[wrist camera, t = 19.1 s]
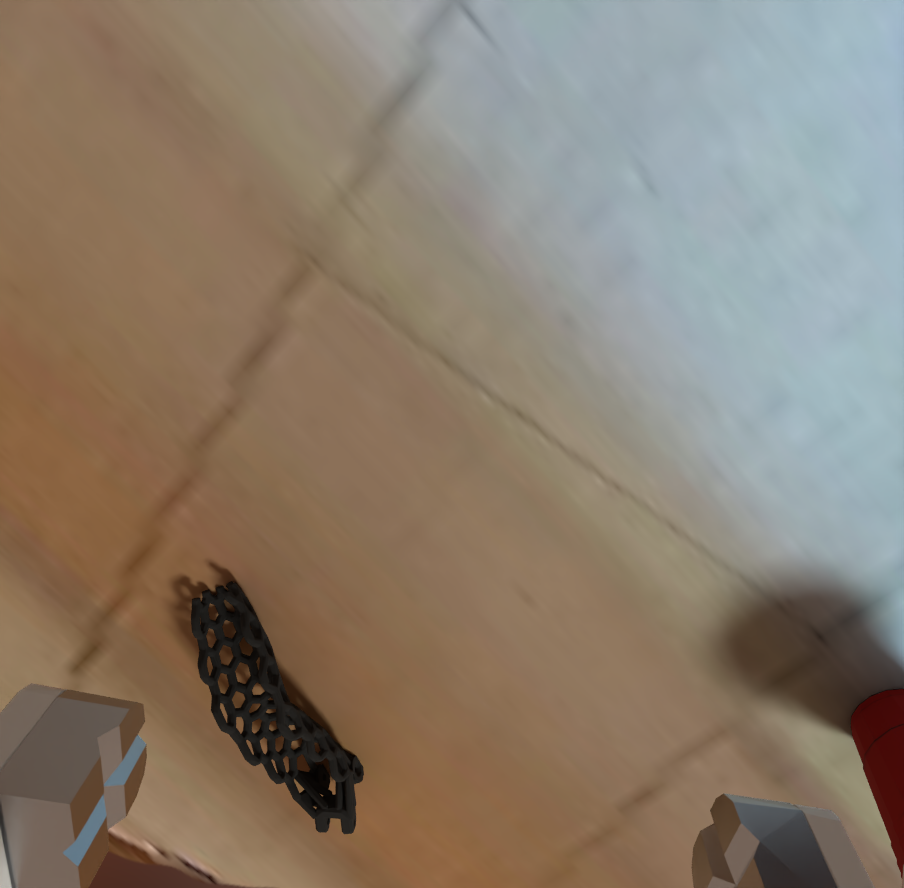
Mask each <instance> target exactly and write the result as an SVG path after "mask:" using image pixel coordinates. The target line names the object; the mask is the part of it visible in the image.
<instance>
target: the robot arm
mask: <svg viewBox="0 0 904 888" xmlns="http://www.w3.org/2000/svg"><path fill="white" fill-rule="evenodd" d="M144 722H145V716H144V706H143V704H141V703H138V702H132V701H127V700H122V699H116V698H111V697H106V696H100V695H95V694H89V693H84V692H79V691H73V690H67V689H61V688H55V687H49V686H44V685H38V684H32V683H31V684H30V685H28V686H27V687H25V688H23V689H22V690H20V691H19V692H18V693H17V694H16V695H15V696H14V697H13V699H12V700H11V701H10V702H9V703H8V704H7V706H6V707H5V708H4V709H3V710H2V712H1V713H0V888H88V887H89V885H90V883H91V882H92V880H93V878H94V876H95V874H96V872H97V870H98V868H99V867H100V865H101V863H102V861H103V859H104V857H105V855H106V854H107V852H108V850H109V841H108V829H109V828H111V827H112V826H114V825H115V824H116V823H118V822H119V821H121V820H122V819H124V818H125V817H126V816H127V814H128V812H129V810H130V808H131V806H132V804H133V802H134V800H135V798H136V796H137V793H138V790H139V787H140V784H141V781H142V778H143V776H144V771H145V765H146V758H147V753H146V744H145V742H144V741H143V740H142V739H141V738H140V737H139V736H138V733H139V731H140V729H141V728H142V726H143V724H144ZM710 811H711V815H712V818H713V821H714V824H712V825H710V826H708V827H707V828H705V829H703V830H701V831H700V833H699V835H698V837H697V840H696V842H695V844H694V847H693V857H692V876H693V885H694V888H874V886H873V884H872V882H871V880H870V878H869V876H868V874H867V872H866V870H865V868H864V866H863V864H862V862H861V860H860V858H859V856H858V854H857V852H856V850H855V848H854V846H853V844H852V842H851V840H850V839H849V837H848V835H847V833H846V831H845V829H844V827H843V825H842V823H841V821H840V819H839V818H838V817H837V816H836V815H835V814H834V813H833V812H832V811H831V810H827V809H820V808H814V807H808V806H801V805H792V804H790V803H786V802H779V801H772V800H765V799H758V798H751V797H744V796H737V795H730V794H722V795H721V796H719V797H717V798H716V800H715V802H714V804H713V806H712V808H711V810H710Z"/></svg>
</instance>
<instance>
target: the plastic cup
mask: <svg viewBox="0 0 904 888" xmlns="http://www.w3.org/2000/svg"><path fill="white" fill-rule="evenodd" d="M851 730H852V737H853V739H854V742H855V744H856V747H857V750H858V752H859V755H860V757H861V760H862V763H863V770H864V772H865V775H866V777H867V780H868V783H869V785H870V788H871V791H872V793H873V796H874V798H875V801H876V804H877V806H878V809H879V811H880V814H881V817H882V819H883V822H884V824H885V827H886V830H887V832H888V835H889V838H890V840H891V847H892V849H893V851H894V854H895V856H896V859H897V865H898V867H899V869H900V872H901V877H902V888H904V689H898V690H887V691H884V692H881V693H879V694H876V695H873V696H871V697H869V698H868V699H867V700H865V701H864V702H863V703H861V704H860V705H859V706H858V707H857V709H856V710H855V712H854V713H853V715H852V717H851Z"/></svg>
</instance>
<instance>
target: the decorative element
mask: <svg viewBox="0 0 904 888" xmlns="http://www.w3.org/2000/svg"><path fill="white" fill-rule="evenodd" d="M226 587H227V588H228V591H227V590H225V588H224V587H223V586H219V587H216V590H217V595H216V596H214V595H212V594H211V593H210V591H209V590H205V591H203V592H202V596H203V598H202V601H200V598H194V599H192V613H191V625H192V633H193V635H194V637H195V638H196V639H197V640H198V645H199V650H200V651H199V658H198V669H199V674H200V678H201V679H202V681H203V682H204V683H205V684H207V685H209V689H210V692H211V695H212V704H211V711H212V713H213V716H214V718H215V720H216V722H217V724H218V726H219V728H220V729H221V731H223V732H225V733H228V734H229V735H230V736H231V737H232V739H233V740H234V741H235V742H236V744H237V745H238V747H239V749H240V751H241V753H242V755H243V756H244V758H245V760H246V761H247V762H249V763H250V764H251V765H253V766H256V765H258V764H260V763H262V764H263V765H264V767H265V769H266V771H267V773H268V775H269V777H270V779H271V780H273V781H274V782H275V783H276V784H281V783H284V782H285V783H286V785H287V787H288V789H289V791H290V793H291V795H292V797H293V799H294V800H295V801H296V802H297V803H298V804H299V805H300V806H301V807H302V808H303V809H304V810H305V811H306V812H307V813H308V814H309V815H310V816H311V817H312V818H313V819H314V818H315V824H316V830H317V831H318V832H327V831H328V829H329V824H330V818H338V819H341V827H342V832H343V833H344V834H351V833H353V832H354V829H355V826H356V810H355V806H356V799H355V791H354V784H356V783H360V782H361V781H362V780H363V775H364V772H363V766H362V765H361V763H360V761H359V760H358V758H357V756H353V757H352V756H351V755H350V754H349V753H347V752H346V751H344V750H343V749H342V748H341V746H340V745H339V744H338V743H337V742H336V741H335V740H334V739H333V738H332V737H331V736H330V735H329V734H328V732H327V731H326V730H325V729H324V728H323V727H322V726H321V725H319V724H318V723H317V722H315V721H314V720H313V719H311V718H310V717H309V716H308V715H306V713H305V712H304V711H302V710H301V709H300V708H298V707H297V706H295V705H294V704H293V703H291V702H290V700H289V698H288V695H287V693H286V690H285V687H284V684H283V681H282V679H281V676H280V673H279V669H278V666H277V663H276V659H275V656H274V652H273V649H272V646H271V644H270V641H269V639H268V637H267V635H266V633H265V631H264V629H263V627H262V626H261V624H260V622H259V620H258V618H257V616H256V613H255V611H254V609H253V607H252V606H251V604H250V602H249V600H248V599H247V597H246V596H245V594H244V593H243V592H242V590H241V589H240V588H239V587H238V585H237V584H236V583H233V582H232V581H231V582H229V583H228V584H227V585H226ZM224 599H225V600H227V601H228V602H229V603H230V604H232V605H233V607H234V608H235V612H234V613H231V612H229V611H227V609H226V607H225V605H224ZM210 603H211V604H214V605H215V607H216V609H217V611H218V614H219V615H218V617H217V619H216V621H213V620H211V619H210V618H209V613H208V608H209V604H210ZM200 619H201V625H200ZM225 620H228V621H230V622H233V625H234V627H235V629H236V633H235V635H234V637H233V638H232V639H231V638H228V637H225V635H224V632H223V628H222V625H223V623H224V621H225ZM250 626H251V628H252V629H250ZM209 628H210V629H213V630H214V633H215V636H216V639H217V640H216V642H215V644H214V645H213V647H212V648H210V647H208V643H207V638H206V635H207V632H208V629H209ZM243 637H244V638H245V640H246V642H247V643H249V644H250V645H251V646H252V648H253V652H252V653H251V655H250V656H248V655H245V654H243V653H242V652H241V649H240V646H239V643H240V641H241V639H242V638H243ZM223 645H225V646H228V647H231V650H232V653H233V656H234V657H233V659H232V660H231V662H230V664H229V665H228V666H227V665H224V664H221V660H220V656H219V652H220V650H221V648H222V646H223ZM208 656H210V658H211V662H212V665H213V669H212V672H211V675H210V676H209V673H208V669H207V658H208ZM258 657H260V666H259V670H258V667H257V663H256V661H257V659H258ZM240 662H242V663H245V664H248V667H249V671H250V675H251V676H250V678H249V679H248V681H247V683H246V684H243V683H240V682H238V681H237V677H236V673H235V670H236V668H237V667H238V665H239V663H240ZM220 673H223V674H227V678H228V682H229V687H228V689H227V691H226V693H225V694H223V693H221V692H220V689H219V686H218V679H219V676H220ZM256 682H258V683H259V684H261V686H262V687H263V689H264V690H265V692H263V693H262V694H261V695H253V693H252V689H253V687H254V685H255V684H256ZM236 691H238V692H241V693H243V694H244V696H245V701H244V703H243V705H242V706H241V708H235V707H234V704H233V702H232V698H233V696H234V694H235V692H236ZM270 697H271V698H273V700H268V699H269V698H270ZM220 703H222V704H223V705H224V707H225V710H226V713H227V715H228V717H227V723H226V720H225V718H224V716H223V714H222V712H221V709H220ZM258 703H260V704H261V705H260V707H259V708H258V709H257V710H256V711H254V712H252V713H249V709H250V707H251V706H252V704H258ZM267 709H276V712H274V713H266V711H267ZM288 715H289V716H288ZM236 717H242V719H243V721H244V727H243V732H242V734H240V732H239V731H238V730H237V728H236ZM259 718H260V719H261V720H262V722H261V727H260V729H259V731H258V732H256V733H255V734H254V733H253V732H252V722H253V721H255V720H257V719H259ZM275 720H276V724H277V727H278V729H276V730H274V731H271V730H269V725H270V722H271V721H275ZM289 725H295V728H296V730H292V731H291V730H290V728H289ZM281 735H282V736H283V737H284V743H283V748H282V749H281V750H280V751H279V752H277V751H276V749H275V739H276V738H278V737H280V736H281ZM263 737H265V738H266V739H267V753H266V755H265V754H264V753H263V751H262V749H261V745H260V740H261V739H262V738H263ZM299 738H302V739H303V741H302V743H301V745H300V747H298V748H297V749H295V750H292V749H291V742H292V741H295V740H297V739H299ZM246 740H249V741H250V742H251V744H252V748H253V752H254V755H253V754H252V753H251V751H250V749H249V747H248V745H247V743H246ZM314 742H315V743H318V744H319V747H320V750H321V751H320V752H319V753H317V752H316V751H315V745H314ZM302 754H303V755H304V757H305V759H306V761H307V763H308V765H309V767H310V770H309V772H304V771H300V770H298V769H297V757H299V756H300V755H302ZM285 756H288V757H289V772H288V773H287V772H286V770H285V766H284V762H283V758H284V757H285ZM325 757H326V758H327V759H328V761H329V767H330V773H331V777H332V778H333V779H334V780H335V781H336V795H332V791H330V790H329V789H328V788H329V784H330V775H329V773H328V772H327V770H326V769H325V767H324V765H323V764H322V765H317V766H316V763H315V762H321V761H323V759H324V758H325ZM272 759H273V760H274V761H275V764H276V768H277V772H278V773H276V770H275V768H274V766H273V764H272V762H271V760H272ZM294 779H295V780H296V781H297V782H298V783H299V784H300V785H301V786H302V787H303V788H304V789H305V790H303V791H302V792H301V793H299V791H298V789H297V787H296V784H295V782H294ZM319 793H320V794H322V795H323V797H322V796H321V795H320V794H319ZM313 806H315V807H317V808H316V809H315V808H314V807H313Z"/></svg>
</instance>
